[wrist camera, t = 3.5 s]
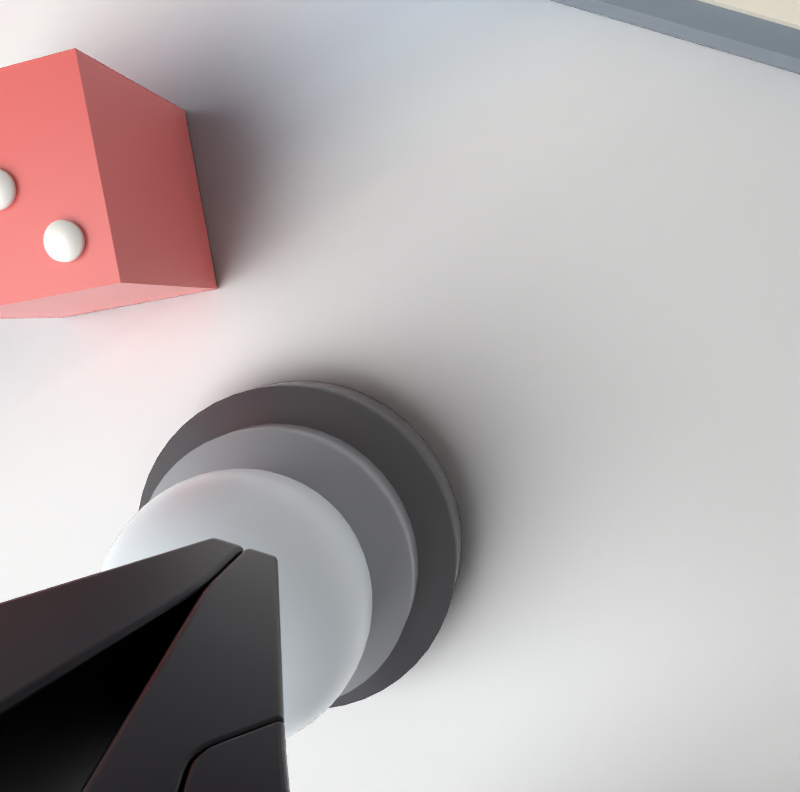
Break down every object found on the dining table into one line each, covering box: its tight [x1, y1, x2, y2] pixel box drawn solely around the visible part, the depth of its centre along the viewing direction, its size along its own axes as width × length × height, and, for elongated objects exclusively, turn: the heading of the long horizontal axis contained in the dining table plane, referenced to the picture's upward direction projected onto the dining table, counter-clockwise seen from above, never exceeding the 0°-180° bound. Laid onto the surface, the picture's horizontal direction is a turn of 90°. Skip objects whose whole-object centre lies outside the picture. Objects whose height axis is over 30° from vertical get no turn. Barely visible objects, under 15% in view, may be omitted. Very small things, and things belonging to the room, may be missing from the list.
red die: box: [0, 48, 217, 319], centre depth 19 cm, size 5×5×5 cm
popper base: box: [139, 381, 461, 708], centre depth 21 cm, size 9×9×2 cm
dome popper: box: [100, 423, 418, 738], centre depth 16 cm, size 7×7×6 cm
